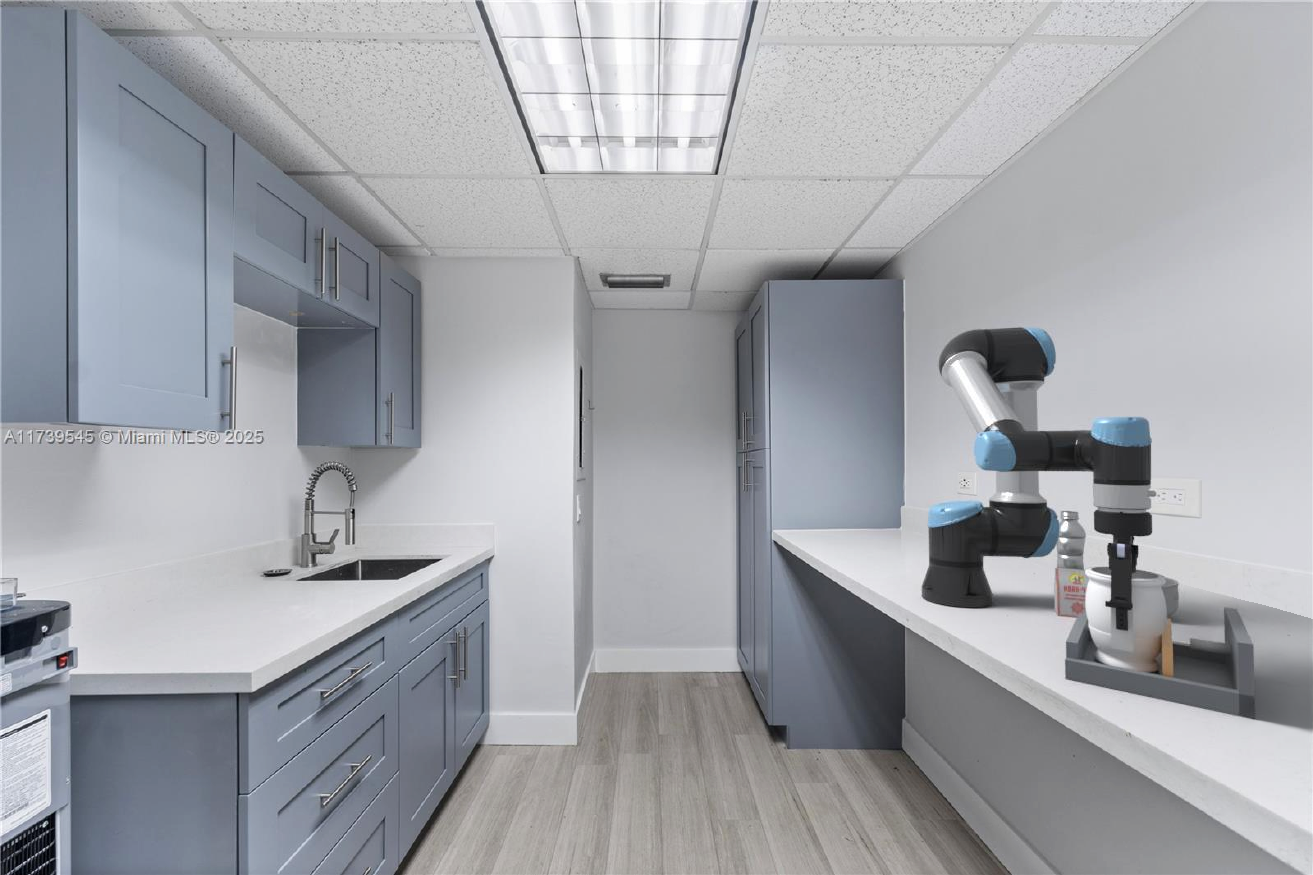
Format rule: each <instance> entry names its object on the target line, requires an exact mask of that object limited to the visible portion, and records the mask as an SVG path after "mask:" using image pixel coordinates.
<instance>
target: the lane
mask: <svg viewBox="0 0 1313 875" xmlns="http://www.w3.org/2000/svg"><path fill="white" fill-rule="evenodd" d="M1223 612H1224V613H1223V620H1224V621H1223V626H1224V627H1223V628H1224V642H1221V641H1220V642H1219V641H1214V640H1206V639H1200V638H1194V637H1190V638H1189V643H1185V642H1179V641H1174V640H1172V643H1173V678H1172V677H1167V676H1163V674H1162V648H1161V651H1160V653H1159V654H1158V656H1157V657H1156V658H1155V660H1156V661H1157V663H1158V664H1159V667H1160V668H1159V670H1158V671H1155V672H1150V673H1146V672H1141V671H1136V670H1131V669H1126V668H1121V667H1115V666H1110V665H1105V664H1103V663H1101V662H1099V661H1097V660H1096V659H1095V657H1094V654H1095V652H1096V651H1097V650H1098V648H1097V647H1096V645H1095V643H1094V641H1093V639H1092V637H1091V633H1090V629H1089V622H1088V618H1087V616H1084V615H1078V616H1077V618H1075V621H1074V623H1073V625H1072V627H1071V629H1070V632H1069V634H1068V636H1067V638H1066V641H1065V653H1066V654H1065V659H1064V666H1065V667H1064V668H1065V669H1064V670H1065V672H1064V674H1065V675H1064V676H1065V678H1064V679H1065V680H1069V681H1075V682H1081V683H1085V684H1089V685H1094V686H1098V687H1103V688H1108V689H1112V690H1118V691H1122V692H1125V693H1126V692H1127V693H1131V694H1136V695H1141V696H1145V697H1151V698H1155V699H1158V700H1164V701H1167V702H1168V701H1169V702H1173V703H1178V704H1181V705H1183V704H1184V705H1188V706H1193V707H1196V708H1201V709H1206V710H1211V711H1217V712H1220V713H1225V714H1230V715H1234V716H1239V717H1243V718H1249V719H1254V720H1256V708H1255V707H1256V706H1255V705H1256V704H1255V702H1256V701H1255V700H1256V699H1255V695H1256V694H1255V660H1254V659H1255V658H1254V656H1255V655H1254V648H1255V647H1254V643H1253V640H1252V639H1251V636H1250V635H1249V632H1248V630H1247V628H1246V626H1245V624H1244V621H1243V618H1242V617H1241V615H1240V613H1239V611H1238V609H1237V608H1233V607H1232V608H1231V607H1225V606H1224V607H1223Z"/></svg>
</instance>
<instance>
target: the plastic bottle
mask: <svg viewBox="0 0 1313 875" xmlns="http://www.w3.org/2000/svg"><path fill="white" fill-rule="evenodd" d="M1059 518H1060V520H1061V521H1059V537H1058V541H1057V544H1056V553H1057V555H1056V556H1057V557H1056V558H1057V560H1056V568H1062V569H1076V570H1085V564H1084V549H1085V543H1086V537H1087V533H1086V530H1085V529H1084V527H1083V526H1082V525H1081V523H1080V522H1079V520H1080V517H1079V512H1078V511H1072V510H1061V511H1060V517H1059ZM1054 581H1055V578H1054Z"/></svg>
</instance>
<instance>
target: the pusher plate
mask: <svg viewBox="0 0 1313 875" xmlns="http://www.w3.org/2000/svg"><path fill="white" fill-rule="evenodd" d="M1172 641H1173V632H1172V619H1171V618H1170V617H1168V618H1167V623H1166V629H1165V633H1164V634H1162V674H1163V676H1167V677H1172V678H1173V643H1172Z"/></svg>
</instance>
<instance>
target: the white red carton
mask: <svg viewBox="0 0 1313 875" xmlns="http://www.w3.org/2000/svg"><path fill="white" fill-rule="evenodd" d="M1054 569H1055V570H1054V572H1055V573H1054V579H1055V580H1054V586H1053V588H1054V591H1053V592H1054V595H1053V596H1054V613H1055V614H1056V616H1057V617H1064V618H1075V619H1077V616H1078V615H1084V616H1087V614H1086V606H1085V598H1086V589H1087V585H1088V582H1089V578H1088V577H1087V576H1086V574H1085V571H1086V570H1085V569H1084V570H1076V569H1062V568H1057V567H1055V568H1054Z"/></svg>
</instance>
